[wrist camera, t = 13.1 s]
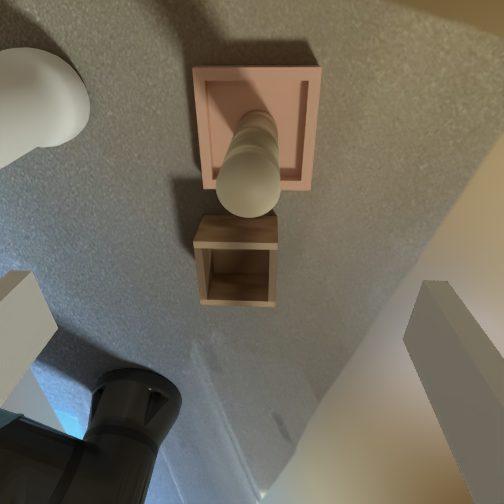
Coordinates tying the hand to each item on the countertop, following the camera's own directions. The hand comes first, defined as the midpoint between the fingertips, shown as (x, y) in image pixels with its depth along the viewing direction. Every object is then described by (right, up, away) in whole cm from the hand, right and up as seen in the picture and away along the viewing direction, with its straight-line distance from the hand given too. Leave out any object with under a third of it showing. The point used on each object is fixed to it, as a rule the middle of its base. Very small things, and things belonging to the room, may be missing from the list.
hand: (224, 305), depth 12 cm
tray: (+2, +14, +21) cm, 26 cm away
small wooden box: (0, +3, +29) cm, 29 cm away
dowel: (+1, +14, +20) cm, 25 cm away
